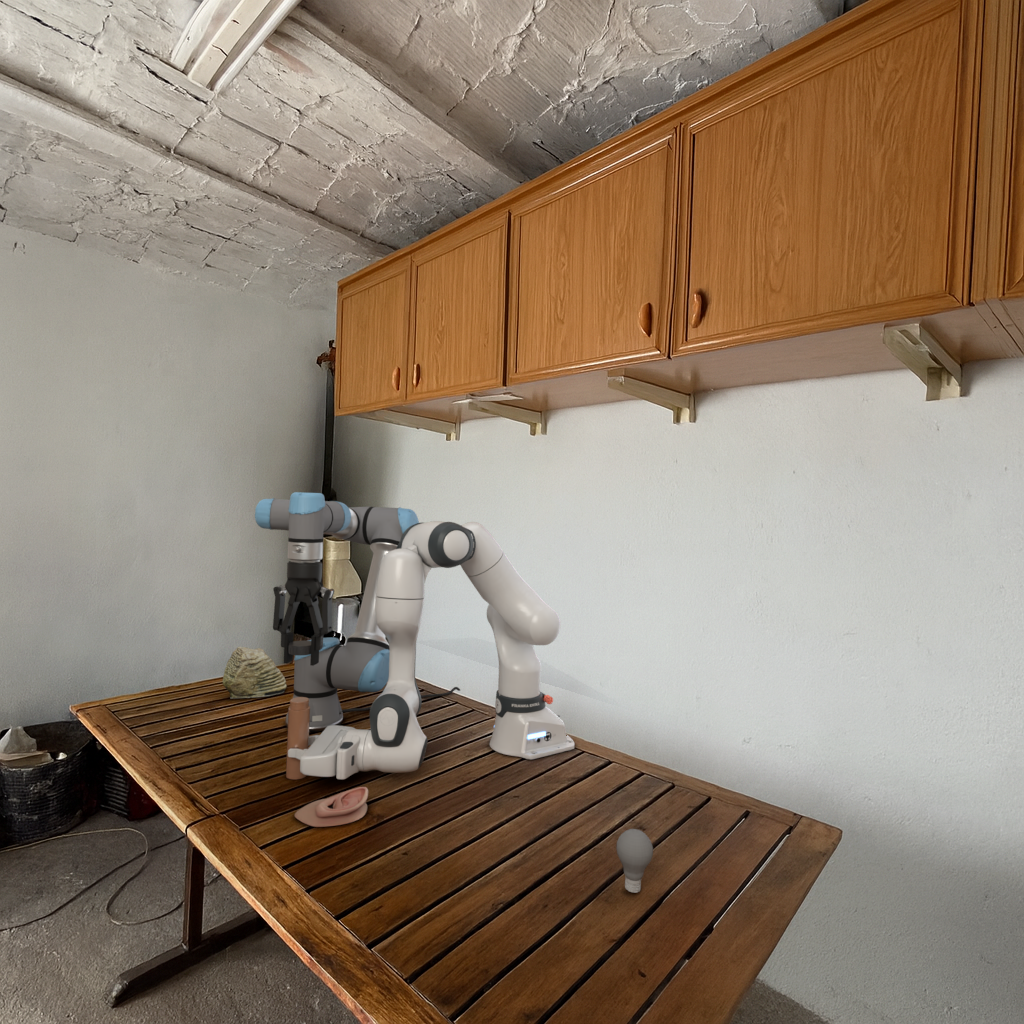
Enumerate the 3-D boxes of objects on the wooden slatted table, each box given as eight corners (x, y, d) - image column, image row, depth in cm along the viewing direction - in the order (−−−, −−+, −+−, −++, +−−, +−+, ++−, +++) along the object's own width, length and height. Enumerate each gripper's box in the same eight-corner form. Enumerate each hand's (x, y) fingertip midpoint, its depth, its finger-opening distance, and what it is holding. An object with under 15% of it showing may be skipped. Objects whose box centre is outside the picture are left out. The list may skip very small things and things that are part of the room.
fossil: (218, 695, 195) (220, 647, 195) (278, 685, 208) (279, 640, 207) (228, 703, 189) (230, 653, 188) (289, 692, 201) (290, 645, 201)
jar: (283, 773, 144) (286, 698, 144) (303, 769, 147) (306, 695, 146) (289, 781, 140) (292, 704, 140) (310, 776, 143) (313, 700, 143)
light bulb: (610, 879, 108) (613, 822, 108) (644, 879, 109) (647, 822, 109) (619, 902, 102) (622, 840, 102) (655, 901, 103) (658, 840, 103)
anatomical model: (286, 802, 122) (316, 777, 134) (285, 822, 122) (315, 795, 134) (350, 811, 120) (375, 785, 131) (349, 832, 120) (374, 804, 131)
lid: (282, 652, 142) (283, 643, 142) (303, 648, 147) (303, 639, 147) (300, 656, 139) (300, 647, 139) (320, 652, 144) (320, 643, 144)
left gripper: (257, 559, 140) (253, 663, 141) (337, 564, 138) (333, 670, 138) (274, 557, 148) (270, 655, 148) (350, 561, 145) (347, 661, 146)
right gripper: (366, 720, 154) (309, 717, 154) (342, 753, 133) (277, 750, 133) (365, 745, 154) (308, 742, 154) (341, 783, 133) (276, 780, 133)
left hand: (301, 662), depth 143 cm, fingers closed on lid, 6 cm apart
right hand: (293, 746), depth 143 cm, fingers closed on jar, 5 cm apart
